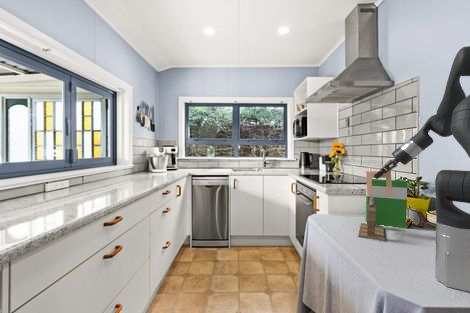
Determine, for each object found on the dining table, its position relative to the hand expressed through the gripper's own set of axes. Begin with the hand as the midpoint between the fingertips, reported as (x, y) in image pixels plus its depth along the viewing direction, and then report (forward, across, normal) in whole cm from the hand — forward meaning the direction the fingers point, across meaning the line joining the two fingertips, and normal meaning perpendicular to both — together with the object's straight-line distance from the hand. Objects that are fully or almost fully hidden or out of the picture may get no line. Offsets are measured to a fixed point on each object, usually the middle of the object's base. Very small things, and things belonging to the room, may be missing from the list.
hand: (375, 177), depth 112 cm
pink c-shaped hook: (+5, 0, -8) cm, 9 cm away
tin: (+6, +30, -32) cm, 45 cm away
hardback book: (+16, +20, -22) cm, 34 cm away
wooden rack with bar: (+20, 0, -18) cm, 27 cm away
